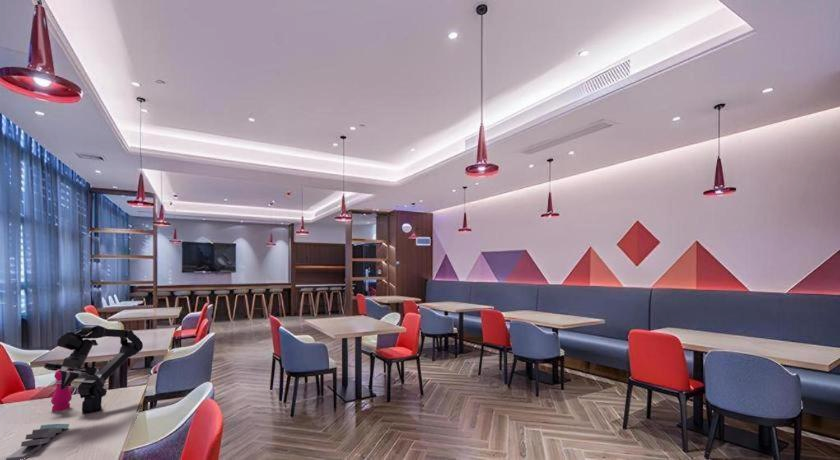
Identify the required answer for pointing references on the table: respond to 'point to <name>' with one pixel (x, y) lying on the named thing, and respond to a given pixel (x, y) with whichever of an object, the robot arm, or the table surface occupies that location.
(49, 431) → the domino
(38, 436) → the domino
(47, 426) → the domino
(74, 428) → the table surface
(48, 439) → the domino
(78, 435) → the table surface
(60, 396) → the pepper mill
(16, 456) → the domino
